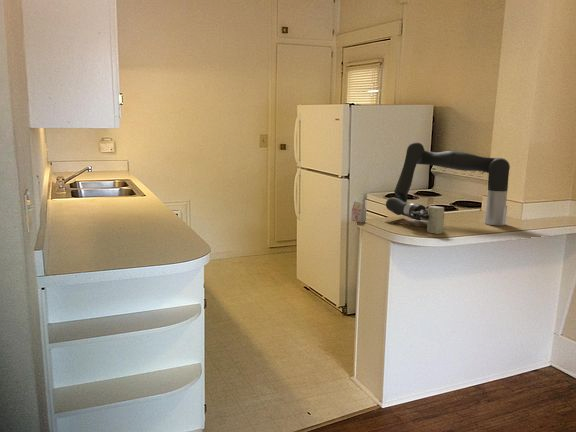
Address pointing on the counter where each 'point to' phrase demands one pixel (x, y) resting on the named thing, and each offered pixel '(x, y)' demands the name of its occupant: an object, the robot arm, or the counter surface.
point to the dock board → (412, 222)
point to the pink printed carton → (358, 212)
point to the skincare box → (435, 219)
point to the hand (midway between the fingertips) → (436, 216)
